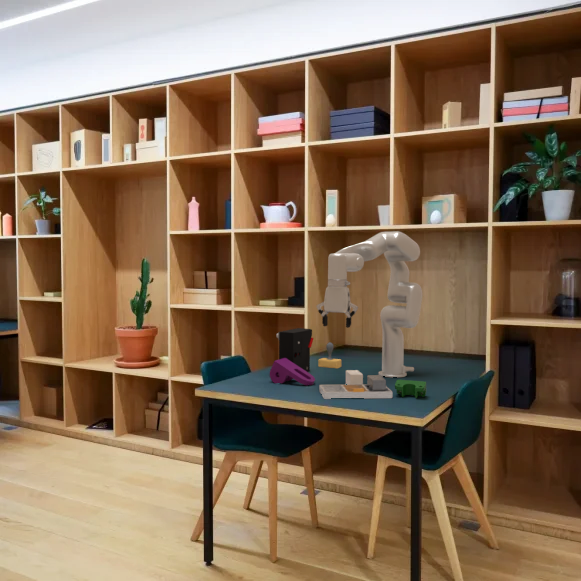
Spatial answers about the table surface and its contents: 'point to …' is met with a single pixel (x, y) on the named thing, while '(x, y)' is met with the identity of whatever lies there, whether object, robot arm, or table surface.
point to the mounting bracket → (289, 372)
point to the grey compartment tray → (358, 389)
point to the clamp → (410, 388)
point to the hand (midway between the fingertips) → (336, 326)
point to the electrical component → (296, 346)
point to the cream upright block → (354, 377)
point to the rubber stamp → (329, 359)
